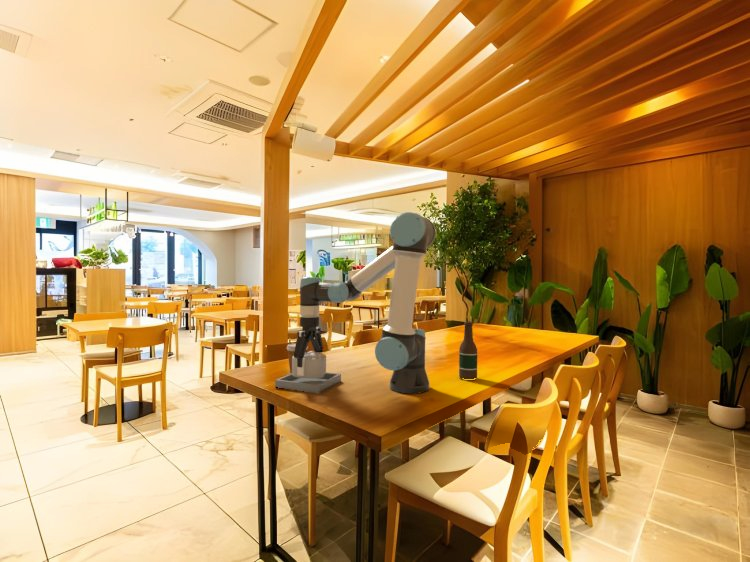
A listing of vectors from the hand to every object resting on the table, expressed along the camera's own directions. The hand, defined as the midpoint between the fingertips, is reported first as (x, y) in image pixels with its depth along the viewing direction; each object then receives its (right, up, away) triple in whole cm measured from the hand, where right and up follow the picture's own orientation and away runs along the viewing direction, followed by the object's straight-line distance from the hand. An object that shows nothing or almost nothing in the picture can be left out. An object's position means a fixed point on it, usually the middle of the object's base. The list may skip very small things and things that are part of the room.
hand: (308, 371), depth 151 cm
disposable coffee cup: (-9, -5, +21) cm, 24 cm away
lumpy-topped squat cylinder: (0, -1, 0) cm, 1 cm away
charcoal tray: (0, -5, 0) cm, 5 cm away
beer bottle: (+65, -6, +11) cm, 66 cm away
